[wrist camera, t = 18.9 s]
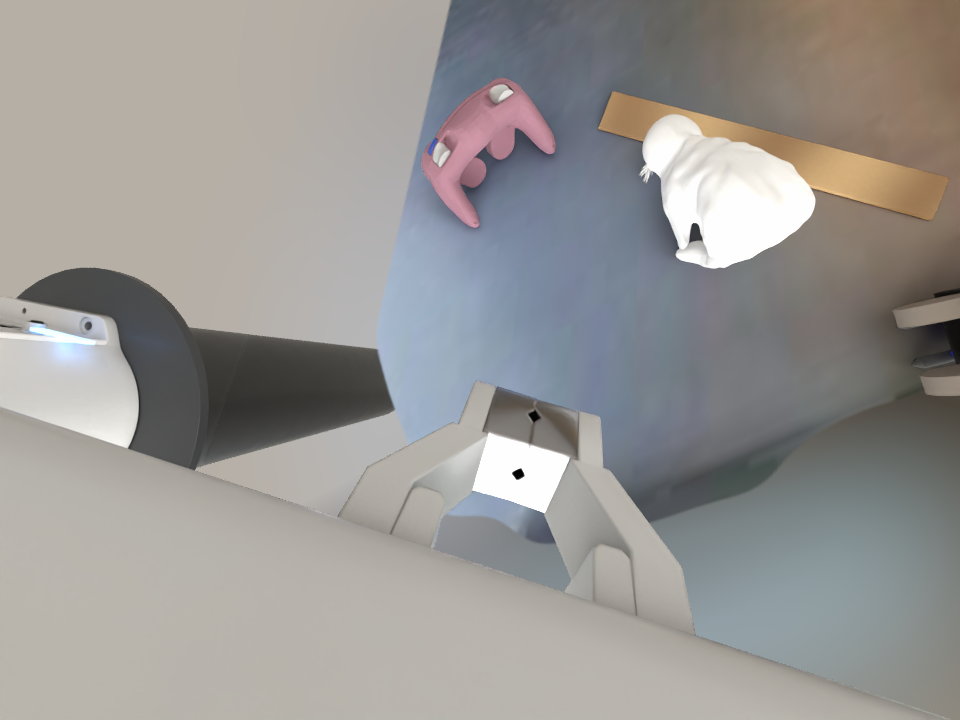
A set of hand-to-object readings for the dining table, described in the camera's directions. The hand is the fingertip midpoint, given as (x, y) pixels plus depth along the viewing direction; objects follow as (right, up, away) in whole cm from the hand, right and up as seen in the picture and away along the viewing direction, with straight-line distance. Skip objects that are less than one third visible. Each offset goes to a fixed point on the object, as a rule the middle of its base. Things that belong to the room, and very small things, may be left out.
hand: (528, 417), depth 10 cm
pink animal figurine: (0, +17, +24) cm, 30 cm away
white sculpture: (+15, +13, +21) cm, 29 cm away
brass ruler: (+20, +17, +21) cm, 33 cm away
